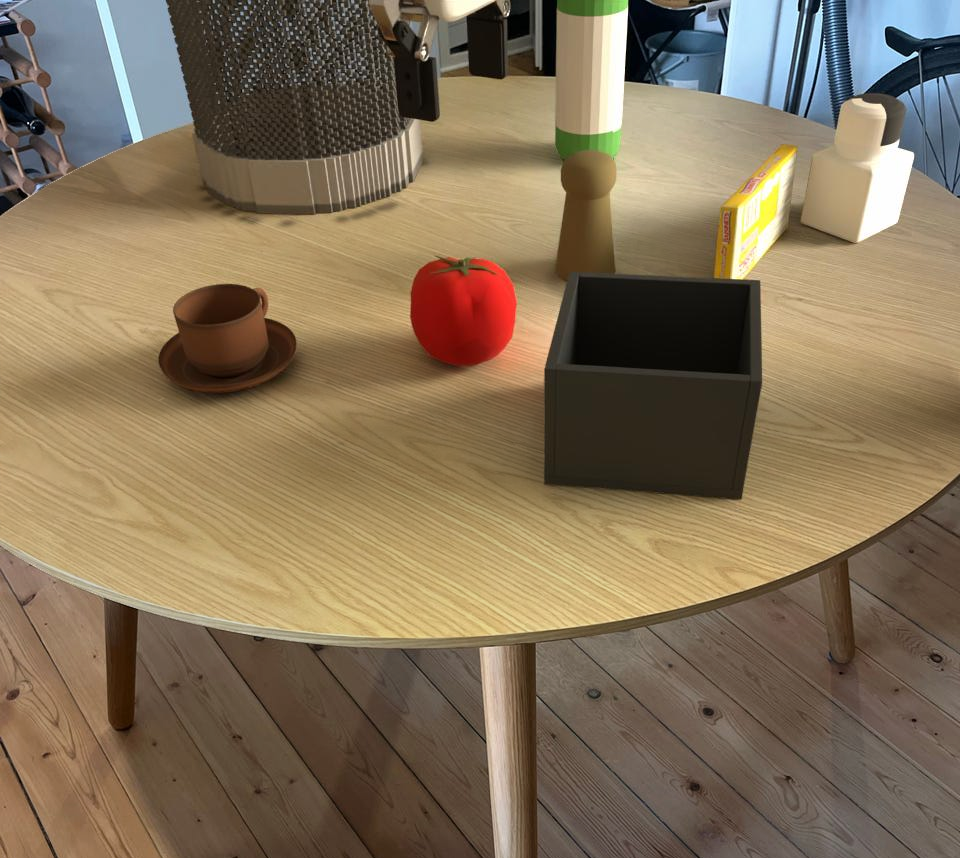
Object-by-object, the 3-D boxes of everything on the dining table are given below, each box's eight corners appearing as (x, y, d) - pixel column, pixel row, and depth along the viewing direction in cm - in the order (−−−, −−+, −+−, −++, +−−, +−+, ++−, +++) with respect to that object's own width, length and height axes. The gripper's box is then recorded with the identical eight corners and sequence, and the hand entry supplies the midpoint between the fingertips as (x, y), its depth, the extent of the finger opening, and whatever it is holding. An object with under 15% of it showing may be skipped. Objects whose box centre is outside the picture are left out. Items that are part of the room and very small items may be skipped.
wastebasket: (436, 131, 129) (416, -167, 108) (397, 215, 112) (364, -121, 91) (244, 130, 133) (188, -161, 111) (177, 211, 115) (96, -115, 94)
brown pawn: (626, 263, 102) (633, 148, 94) (599, 289, 98) (604, 171, 90) (571, 251, 104) (574, 138, 96) (543, 276, 101) (544, 161, 93)
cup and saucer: (192, 332, 96) (175, 268, 91) (315, 337, 94) (304, 273, 89) (142, 401, 87) (121, 336, 83) (276, 409, 86) (262, 342, 81)
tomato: (472, 394, 86) (467, 300, 80) (386, 356, 91) (375, 265, 85) (541, 348, 91) (541, 257, 85) (455, 315, 96) (450, 227, 90)
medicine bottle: (841, 203, 110) (866, 82, 101) (898, 223, 106) (930, 98, 97) (798, 223, 107) (821, 100, 98) (856, 245, 103) (885, 118, 94)
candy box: (768, 225, 107) (781, 142, 101) (787, 229, 106) (802, 145, 100) (708, 291, 97) (719, 203, 91) (730, 295, 96) (742, 207, 90)
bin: (742, 392, 85) (760, 279, 78) (741, 499, 75) (762, 381, 68) (567, 381, 87) (569, 271, 80) (543, 484, 77) (544, 368, 70)
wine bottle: (542, 151, 123) (544, -162, 102) (597, 137, 126) (609, -171, 105) (576, 172, 119) (585, -152, 97) (632, 157, 121) (653, -162, 100)
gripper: (412, -178, 57) (435, 144, 69) (556, -219, 67) (554, 68, 79) (305, -181, 60) (345, 128, 72) (459, -220, 70) (471, 56, 82)
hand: (455, 96), depth 76 cm, fingers open, 9 cm apart
